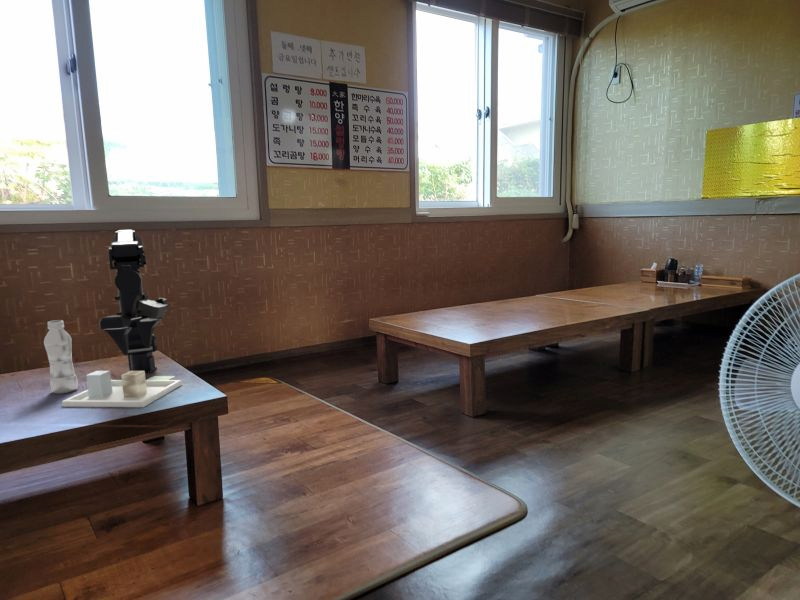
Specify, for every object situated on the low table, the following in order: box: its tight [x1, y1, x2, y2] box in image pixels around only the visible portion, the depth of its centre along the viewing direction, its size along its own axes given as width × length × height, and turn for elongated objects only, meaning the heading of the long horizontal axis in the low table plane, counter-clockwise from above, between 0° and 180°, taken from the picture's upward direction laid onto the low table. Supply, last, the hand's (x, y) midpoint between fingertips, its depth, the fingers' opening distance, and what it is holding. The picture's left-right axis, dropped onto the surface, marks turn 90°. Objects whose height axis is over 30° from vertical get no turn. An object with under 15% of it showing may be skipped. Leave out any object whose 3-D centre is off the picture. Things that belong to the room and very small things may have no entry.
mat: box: [146, 375, 176, 380], centre depth 159 cm, size 7×6×1 cm
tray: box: [61, 379, 183, 408], centre depth 145 cm, size 22×18×2 cm
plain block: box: [85, 370, 113, 397], centre depth 146 cm, size 4×4×6 cm
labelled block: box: [120, 370, 147, 398], centre depth 145 cm, size 4×4×6 cm
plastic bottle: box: [43, 319, 79, 395], centre depth 150 cm, size 6×7×20 cm
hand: (137, 350), depth 144 cm, fingers open, 9 cm apart
